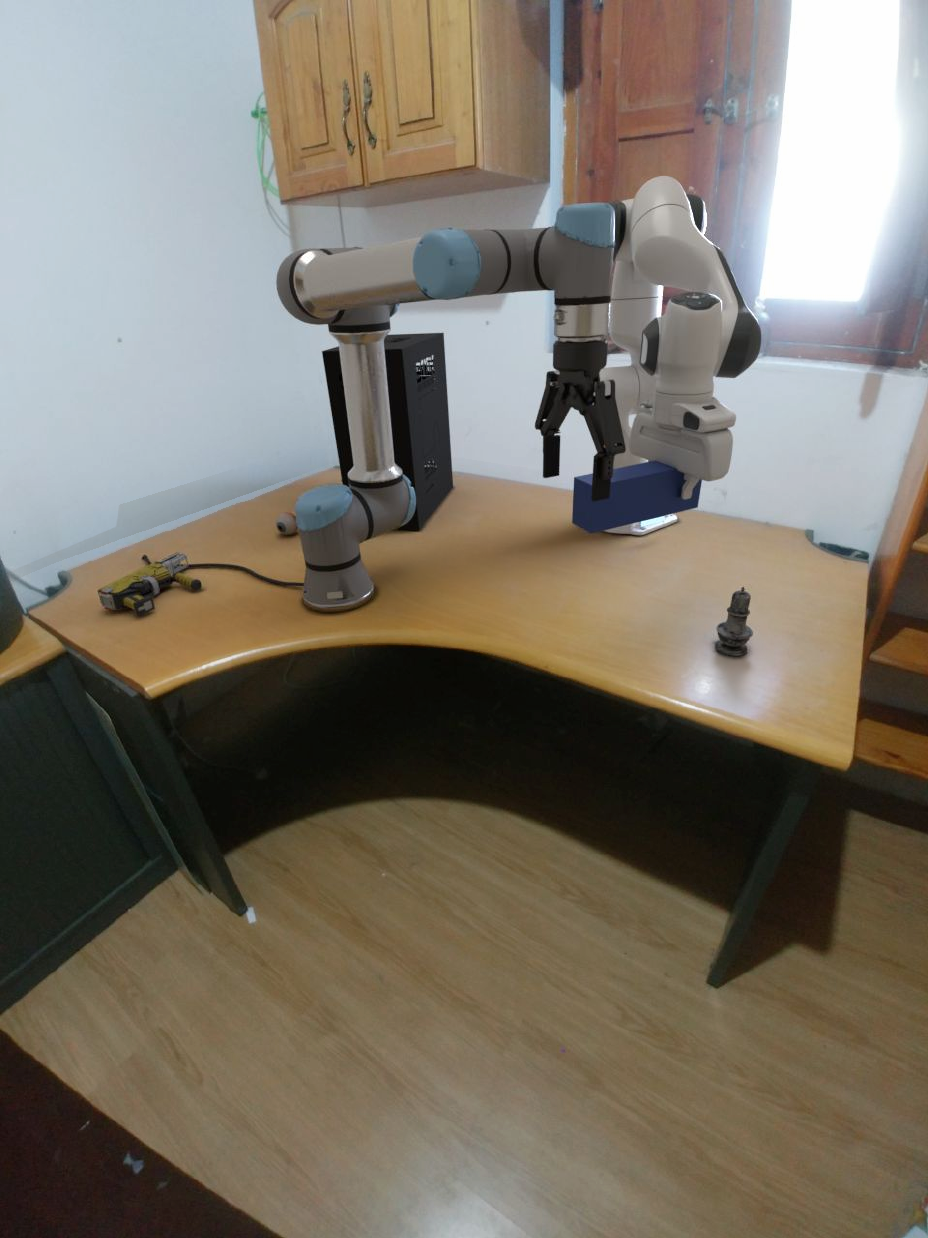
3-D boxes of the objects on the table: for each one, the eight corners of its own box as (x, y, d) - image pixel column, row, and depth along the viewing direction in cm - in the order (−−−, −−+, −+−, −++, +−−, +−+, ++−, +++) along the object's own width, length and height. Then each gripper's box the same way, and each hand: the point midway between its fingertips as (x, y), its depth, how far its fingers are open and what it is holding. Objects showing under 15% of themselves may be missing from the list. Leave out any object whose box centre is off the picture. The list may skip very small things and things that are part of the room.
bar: (676, 498, 108) (682, 454, 104) (697, 507, 104) (704, 462, 100) (571, 523, 101) (573, 477, 97) (590, 533, 96) (593, 486, 92)
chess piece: (752, 657, 103) (766, 595, 97) (715, 655, 104) (727, 594, 98) (745, 639, 108) (758, 579, 102) (711, 637, 109) (721, 578, 103)
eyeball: (273, 537, 164) (268, 516, 161) (287, 528, 169) (282, 508, 166) (291, 539, 161) (286, 518, 158) (305, 530, 166) (301, 510, 163)
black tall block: (419, 530, 162) (402, 348, 140) (349, 527, 167) (321, 351, 144) (453, 486, 194) (443, 332, 171) (393, 485, 198) (376, 334, 176)
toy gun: (225, 560, 144) (174, 549, 148) (148, 603, 124) (91, 589, 127) (228, 578, 146) (177, 567, 150) (152, 623, 126) (96, 609, 130)
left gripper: (513, 335, 92) (514, 471, 103) (613, 347, 72) (602, 515, 83) (555, 330, 95) (552, 464, 105) (663, 342, 75) (646, 505, 86)
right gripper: (624, 400, 103) (617, 479, 110) (712, 423, 87) (698, 514, 94) (653, 396, 105) (645, 473, 113) (745, 417, 89) (729, 506, 96)
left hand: (574, 487), depth 94 cm, fingers open, 13 cm apart
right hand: (670, 492), depth 103 cm, fingers closed on bar, 5 cm apart
